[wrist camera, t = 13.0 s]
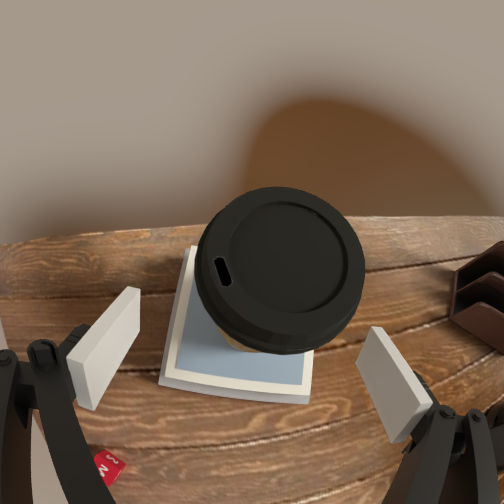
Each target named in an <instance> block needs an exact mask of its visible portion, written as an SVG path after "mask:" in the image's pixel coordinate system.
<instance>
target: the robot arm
mask: <svg viewBox="0 0 504 504" xmlns="http://www.w3.org/2000/svg"><path fill="white" fill-rule="evenodd" d="M139 332H140V289H138V288H133V287H129V286H127V288H126V289H125V290H124V291H123V292H122V293H121V294H120V295H119V296H118V297H117V298H116V300H115V301H114V302H113V303H112V304H111V305H110V306H109V307H108V309H107V310H106V311H105V312H104V313H103V314H102V315H101V316H100V318H99V319H98V320H97V321H96V322H95V323H94V324H93V326H89V325H86V324H82V325H80V326H78V327H76V328H75V329H74V330H73V331H72V332H71V333H70V335H68V337H67V338H66V339H65V340H64V341H63V342H62V343H61V344H60V345H59V347H58V348H57V346H56V344H55V343H53V342H52V341H50V340H46V339H40V340H36V341H34V342H32V343H31V344H30V345H29V346H28V348H27V354H28V357H29V360H30V363H29V362H23V361H18V358H17V355H16V354H15V353H14V352H13V351H12V350H8V349H6V350H0V504H33V499H32V498H33V497H32V486H31V485H32V484H31V426H32V412H33V409H38V410H39V413H40V418H41V422H42V426H43V430H44V434H45V438H46V441H47V445H48V448H49V452H50V455H51V458H52V461H53V464H54V467H55V470H56V473H57V476H58V478H59V481H60V484H61V486H62V489H63V491H64V494H65V496H66V499H67V501H68V503H69V504H116V503H115V501H114V499H113V497H112V496H111V494H110V492H109V490H108V488H107V486H106V484H105V482H104V480H103V478H102V476H101V474H100V472H99V470H98V468H97V466H96V464H95V461H94V459H93V457H92V455H91V452H90V450H89V448H88V445H87V443H86V440H85V438H84V435H83V433H82V430H81V428H80V425H79V422H78V419H77V416H76V414H75V411H74V408H73V405H72V402H73V401H74V399H75V398H76V399H77V402H78V405H79V406H81V407H84V408H86V409H89V410H92V411H94V410H95V408H96V407H97V405H98V403H99V401H100V399H101V397H102V396H103V394H104V392H105V390H106V388H107V387H108V385H109V383H110V381H111V379H112V378H113V376H114V374H115V372H116V371H117V369H118V367H119V365H120V364H121V362H122V360H123V359H124V357H125V355H126V353H127V352H128V350H129V348H130V347H131V345H132V343H133V342H134V340H135V338H136V337H137V335H138V333H139ZM355 364H356V366H357V368H358V370H359V372H360V375H361V377H362V379H363V381H364V383H365V385H366V388H367V390H368V392H369V394H370V396H371V399H372V401H373V403H374V405H375V407H376V410H377V412H378V414H379V417H380V419H381V421H382V423H383V426H384V428H385V430H386V433H387V435H388V437H389V440H390V442H391V444H394V443H400V442H404V441H405V440H406V439H407V437H408V436H409V435H410V434H411V436H412V438H413V439H412V440H411V442H410V443H409V444H408V445H407V446H406V448H405V449H404V450H403V451H402V454H403V453H404V452H405V451H406V453H405V455H404V457H403V460H402V462H401V464H400V467H399V469H398V471H397V473H396V476H395V478H394V480H393V482H392V484H391V486H390V488H389V490H388V492H387V494H386V496H385V498H384V500H383V502H382V504H438V501H439V504H500V492H499V483H498V475H499V474H502V473H504V401H501V402H498V403H497V404H495V405H494V406H493V407H492V408H491V409H490V411H489V412H488V414H487V415H486V417H485V415H484V414H483V412H481V411H480V410H477V409H471V410H469V412H468V413H467V414H466V416H460V415H457V414H456V412H455V411H454V410H453V409H452V408H450V407H449V406H446V405H440V404H439V402H438V401H437V399H436V398H435V396H434V395H433V393H432V392H431V390H430V389H429V387H428V386H427V384H425V381H424V380H423V378H422V377H421V376H420V375H419V374H418V373H416V372H415V371H412V370H411V368H410V367H409V365H408V364H407V362H406V361H405V359H404V358H403V357H402V355H401V354H400V352H399V351H398V349H397V348H396V346H395V345H394V344H393V342H392V341H391V339H390V338H389V337H388V335H387V334H386V332H385V331H384V330H383V328H382V327H372V326H371V328H370V331H369V333H368V335H367V338H366V340H365V342H364V345H363V347H362V349H361V352H360V354H359V356H358V358H357V360H356V363H355ZM465 448H466V451H465V453H464V449H465ZM439 498H440V499H439Z"/></svg>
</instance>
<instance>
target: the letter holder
mask: <svg viewBox="0 0 504 504" xmlns="http://www.w3.org/2000/svg"><path fill="white" fill-rule="evenodd" d="M449 319H450V320H451V321H453V322H454V323H456V324H458V325H459V326H461V327H462V328H464V329H465V330H467V331H469V332H470V333H472V334H473V335H475V336H476V337H478V338H479V339H481V340H482V341H484V342H485V343H487V344H488V345H490V346H491V347H493V348H494V349H496V350H497V351H499V352H500V353H502V354H503V355H504V241H500V242H497V243H496V244H495V245H493V246H492V247H490V248H489V249H487V250H486V251H484V252H483V253H482V254H480V255H479V256H477V257H476V258H475V259H473V260H472V261H470V262H468V263H467V264H466V265H464V266H463V267H461V268H459V269H458V270H456V271H455V274H454V283H453V291H452V299H451V306H450V313H449Z"/></svg>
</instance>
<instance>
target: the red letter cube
mask: <svg viewBox="0 0 504 504" xmlns="http://www.w3.org/2000/svg"><path fill="white" fill-rule="evenodd" d="M94 461H95V464H96V466H97V468H98V470H99V472H100V474H101V476H102V478H103V480H104V482H105V484H106V485H107V486H108V487H109V486H110V485H112V484H113V483H114V482H115V481H116V480H117V478H118V477H119V475H120V473H121V472H122V470H123V469H124V467H125V466H126V464H125V463H124V462H122V461H121V460H119V459H118V458H117V457H115V456H114V455H112V454H111V453H109V452H108V451H107V450H103V451H101V452H100V453H98V454H96V456H95V458H94Z"/></svg>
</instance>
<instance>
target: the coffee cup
mask: <svg viewBox="0 0 504 504" xmlns="http://www.w3.org/2000/svg"><path fill="white" fill-rule="evenodd" d="M194 277H195V283H196V288H197V292H198V295H199V297H200V299H201V302H202V304H203V306H204V308H205V310H206V311H207V313H208V314H209V316H210V317H211V318H212V320H213V321H214V323H215V324H216V326H217V328H218V330H219V332H220V333H221V335H222V336H223V338H224V339H225V340H226V342H228V343H229V344H230V345H231V346H232V347H234V348H236V349H238V350H240V351H244V352H251V353H268V354H276V355H293V354H302V353H305V352H308V351H312V350H315V349H317V348H319V347H321V346H323V345H325V344H326V343H328V342H330V341H331V340H333V339H334V338H335V337H336V336H337V335H338V334H339V333H340V332H341V331H342V330H343V329H344V328H345V327H346V326H347V324H348V323H349V321H350V320H351V319H352V317H353V316H354V314H355V312H356V309H357V307H358V304H359V302H360V299H361V294H362V289H363V285H364V278H365V259H364V255H363V250H362V246H361V244H360V242H359V239H358V237H357V235H356V233H355V231H354V230H353V228H352V227H351V225H350V224H349V222H348V221H347V220H346V219H345V218H344V217H343V216H342V215H341V213H340V212H339V211H337V210H336V209H335V208H334V207H332V206H331V205H330V204H329V203H327V202H326V201H324V200H322V199H320V198H319V197H317V196H315V195H312V194H310V193H307V192H305V191H302V190H298V189H293V188H287V187H268V188H261V189H257V190H253V191H250V192H247V193H245V194H243V195H241V196H239V197H237V198H236V199H234V200H233V201H232V202H231V203H229V204H228V205H227V206H226V207H225V208H224V209H222V210H221V211H220V212H219V213H217V214H216V216H215V217H214V218H213V219H212V220H211V222H210V223H209V224H208V225H207V227H206V229H205V231H204V232H203V234H202V236H201V238H200V241H199V243H198V247H197V251H196V255H195V259H194Z"/></svg>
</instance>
